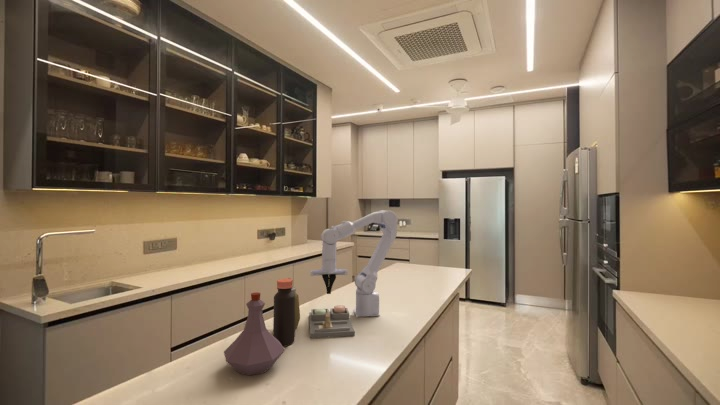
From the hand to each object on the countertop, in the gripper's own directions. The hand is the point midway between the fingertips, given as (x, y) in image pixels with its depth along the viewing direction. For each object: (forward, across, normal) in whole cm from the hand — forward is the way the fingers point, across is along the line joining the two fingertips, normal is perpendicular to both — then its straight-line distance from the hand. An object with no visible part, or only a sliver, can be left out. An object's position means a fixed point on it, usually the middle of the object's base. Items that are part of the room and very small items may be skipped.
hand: (328, 293), depth 130 cm
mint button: (+7, -4, -4) cm, 9 cm away
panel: (+9, 0, -9) cm, 13 cm away
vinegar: (+10, -16, -22) cm, 29 cm away
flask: (+10, -23, -37) cm, 45 cm away
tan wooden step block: (+8, -1, -15) cm, 17 cm away
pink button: (+6, +4, -4) cm, 9 cm away
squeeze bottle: (+10, -15, -10) cm, 20 cm away
